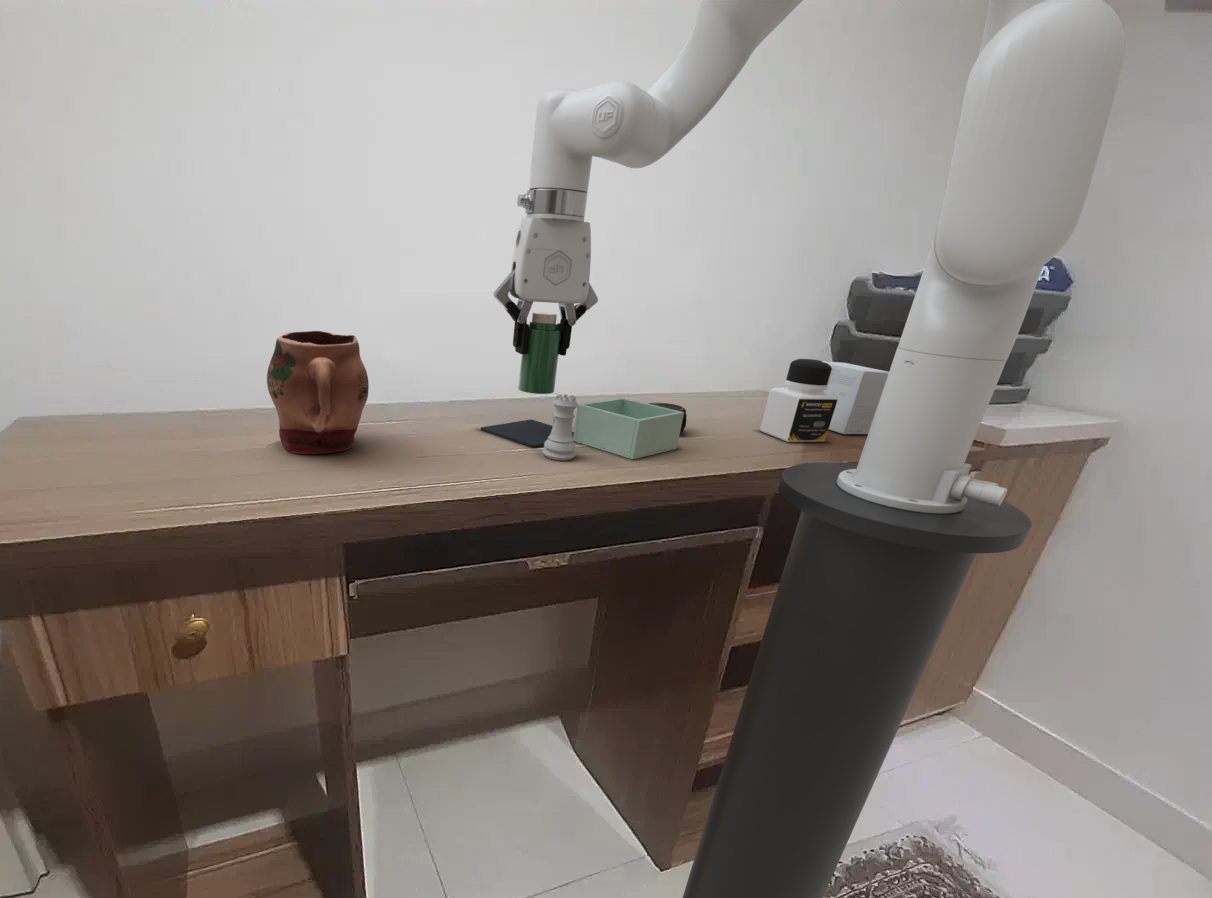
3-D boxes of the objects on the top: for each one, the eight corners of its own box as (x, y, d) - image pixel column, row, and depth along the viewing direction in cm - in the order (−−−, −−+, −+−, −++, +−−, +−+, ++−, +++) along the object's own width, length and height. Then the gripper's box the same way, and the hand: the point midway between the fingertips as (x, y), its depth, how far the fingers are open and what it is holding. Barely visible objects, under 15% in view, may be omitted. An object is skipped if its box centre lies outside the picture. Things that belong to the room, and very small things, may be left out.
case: (676, 448, 94) (684, 412, 91) (632, 459, 87) (639, 420, 85) (617, 431, 101) (622, 397, 98) (572, 440, 94) (577, 404, 92)
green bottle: (561, 392, 94) (571, 315, 89) (536, 395, 90) (545, 315, 86) (535, 385, 97) (543, 311, 92) (511, 388, 94) (518, 311, 89)
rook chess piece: (535, 453, 87) (542, 393, 84) (561, 450, 89) (569, 391, 86) (555, 462, 84) (563, 400, 80) (582, 459, 86) (591, 398, 82)
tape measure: (638, 431, 102) (642, 407, 100) (641, 422, 108) (645, 399, 106) (683, 437, 100) (688, 413, 98) (683, 427, 106) (688, 404, 104)
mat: (584, 437, 96) (584, 435, 96) (533, 447, 89) (533, 445, 89) (531, 421, 103) (531, 419, 103) (480, 429, 97) (480, 427, 97)
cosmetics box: (874, 435, 110) (895, 371, 105) (843, 435, 108) (864, 370, 103) (827, 420, 119) (846, 361, 114) (798, 420, 117) (816, 360, 112)
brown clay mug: (387, 469, 77) (388, 348, 71) (282, 476, 73) (273, 347, 67) (351, 427, 93) (349, 326, 87) (263, 430, 89) (255, 324, 83)
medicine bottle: (787, 442, 101) (809, 363, 96) (758, 431, 107) (778, 356, 102) (825, 442, 102) (849, 364, 97) (794, 431, 109) (815, 357, 104)
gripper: (501, 201, 78) (489, 356, 86) (629, 212, 82) (606, 359, 90) (485, 204, 85) (475, 347, 93) (604, 214, 89) (585, 351, 97)
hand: (540, 352), depth 91 cm, fingers closed on green bottle, 5 cm apart
